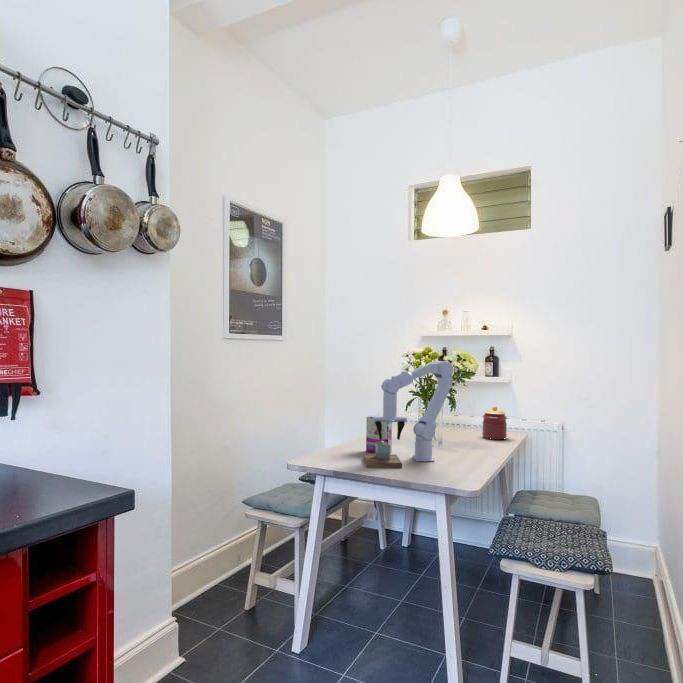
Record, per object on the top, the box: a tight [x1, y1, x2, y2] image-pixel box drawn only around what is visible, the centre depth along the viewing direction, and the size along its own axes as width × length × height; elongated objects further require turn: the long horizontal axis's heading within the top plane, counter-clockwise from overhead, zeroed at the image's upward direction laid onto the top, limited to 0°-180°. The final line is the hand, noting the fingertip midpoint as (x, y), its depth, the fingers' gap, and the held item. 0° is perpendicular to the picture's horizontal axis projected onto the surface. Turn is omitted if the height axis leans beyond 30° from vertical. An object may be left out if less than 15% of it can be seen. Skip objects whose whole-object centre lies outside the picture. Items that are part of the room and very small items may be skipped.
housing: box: [374, 441, 391, 461], centre depth 204 cm, size 5×8×7 cm, turn 2°
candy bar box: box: [365, 415, 393, 454], centre depth 225 cm, size 11×5×16 cm, turn 62°
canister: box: [481, 406, 508, 440], centre depth 270 cm, size 13×13×18 cm
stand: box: [363, 453, 403, 469], centre depth 203 cm, size 16×14×2 cm
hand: (389, 439), depth 208 cm, fingers open, 7 cm apart
